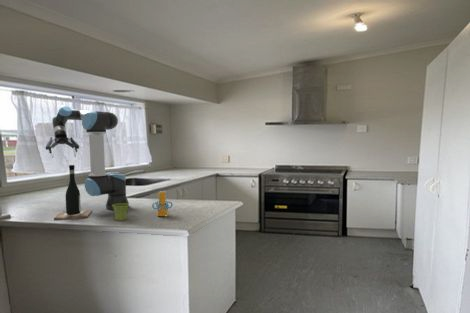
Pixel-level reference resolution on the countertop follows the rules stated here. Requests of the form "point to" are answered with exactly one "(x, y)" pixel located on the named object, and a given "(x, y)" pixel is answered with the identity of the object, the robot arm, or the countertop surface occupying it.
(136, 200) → the countertop surface
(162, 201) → the orange block with loops
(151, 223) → the countertop surface
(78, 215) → the board
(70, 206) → the wine bottle
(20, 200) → the countertop surface
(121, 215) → the plant pot
